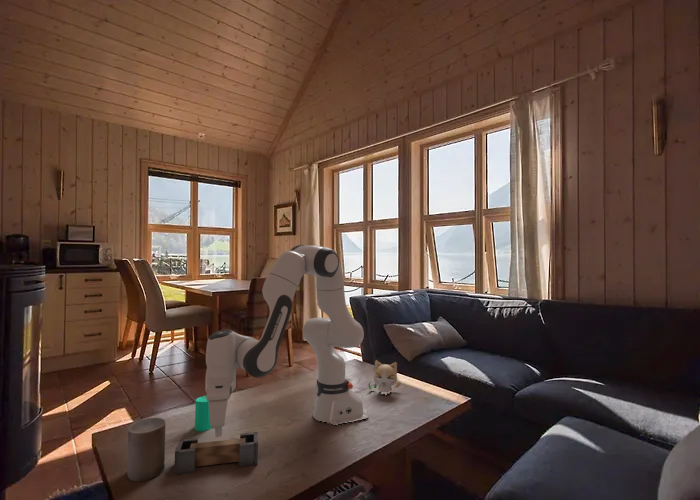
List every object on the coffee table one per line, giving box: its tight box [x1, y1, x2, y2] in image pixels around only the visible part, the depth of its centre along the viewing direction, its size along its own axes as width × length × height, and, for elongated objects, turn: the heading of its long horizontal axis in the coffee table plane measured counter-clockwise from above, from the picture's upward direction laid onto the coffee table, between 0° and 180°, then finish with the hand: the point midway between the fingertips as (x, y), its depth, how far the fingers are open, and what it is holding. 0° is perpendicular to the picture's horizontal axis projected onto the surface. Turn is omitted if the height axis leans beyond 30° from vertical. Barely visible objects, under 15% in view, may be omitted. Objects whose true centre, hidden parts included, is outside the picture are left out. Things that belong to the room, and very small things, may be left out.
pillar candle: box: [126, 417, 166, 482], centre depth 106 cm, size 10×10×15 cm
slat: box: [190, 438, 246, 468], centre depth 112 cm, size 16×3×6 cm, turn 106°
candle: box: [194, 394, 212, 432], centre depth 134 cm, size 6×6×12 cm
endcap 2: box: [238, 431, 259, 468], centre depth 114 cm, size 5×7×6 cm
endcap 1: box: [173, 437, 199, 476], centre depth 109 cm, size 5×7×6 cm
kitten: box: [368, 359, 402, 392], centre depth 172 cm, size 15×10×15 cm
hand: (220, 427), depth 112 cm, fingers open, 8 cm apart
